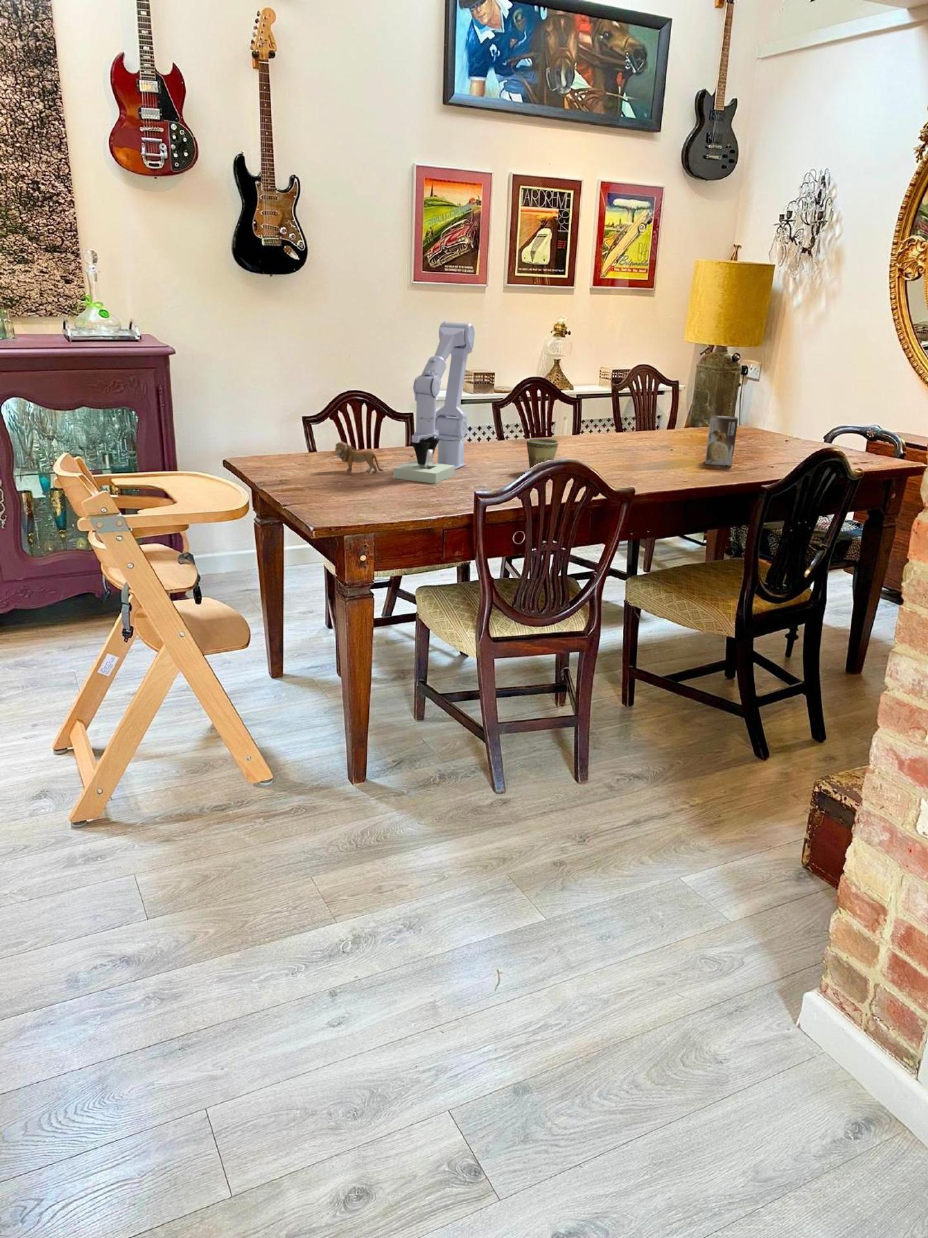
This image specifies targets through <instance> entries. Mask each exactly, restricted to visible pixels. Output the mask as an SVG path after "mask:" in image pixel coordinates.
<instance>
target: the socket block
mask: <svg viewBox="0 0 928 1238" xmlns="http://www.w3.org/2000/svg"><path fill="white" fill-rule="evenodd" d="M455 473H456V469H455V465H447V464H439V463H437V462H433V463H432V469H421V468H419V464H418V462H417V460H412V461H408V462H405V463H404V464H401V465H399V466H398V465H397V466H395V467H393V474H392V475H393V479H399V480H406V481H412V482H413V481H414V482H423V483H429V484H438V483H441V482H443V481H445V480H447V479H450V478H452V477H454V476H456V474H455Z"/></svg>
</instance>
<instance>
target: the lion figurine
mask: <svg viewBox="0 0 928 1238" xmlns="http://www.w3.org/2000/svg"><path fill="white" fill-rule="evenodd" d="M334 449H335V450H334V453H335V455H336V457H338V458H339V459H341V461H342V462H344V463H347V465H348V466H347V467H348V468H347V470H346V473H351V472H352V471H353V463H356V464H361V463H364V462H366V463H367V465H368V466H369V467H368V469H366V472H371V471H372V469H373V471H372V472H371V473H372V474H373V475H377V473H378V471H379V472H384V470H383V469H382V468H380V466H379V461H378V459H377V456H376V454H375V453H374V452H373V451H371V450H370V449H369V450H358V449H356V448H355V447H353V445H350V444H349V443H346V442H344V441H339V442H337V443H335V448H334Z"/></svg>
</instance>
